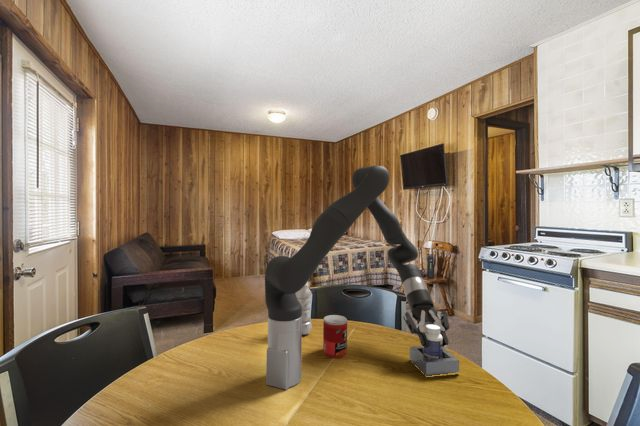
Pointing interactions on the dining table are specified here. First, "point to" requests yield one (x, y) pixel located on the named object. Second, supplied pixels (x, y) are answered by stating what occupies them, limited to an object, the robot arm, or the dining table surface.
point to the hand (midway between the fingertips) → (436, 346)
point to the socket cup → (434, 362)
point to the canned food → (335, 336)
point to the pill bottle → (433, 342)
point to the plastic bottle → (305, 308)
